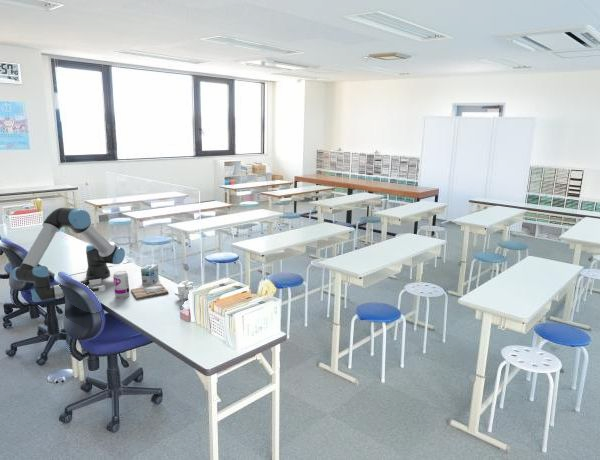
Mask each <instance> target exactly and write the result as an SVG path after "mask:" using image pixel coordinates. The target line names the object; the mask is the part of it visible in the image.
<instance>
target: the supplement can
mask: <svg viewBox="0 0 600 460" xmlns="http://www.w3.org/2000/svg"><path fill="white" fill-rule="evenodd" d="M112 277H113V286H114V297H115V298H117V299H124V298H128V297H129V296H130V294H131V292H130V285H129V274H128V272H127V271H125V270H120V271H119V270H118V271H116V272H114V273H113V276H112Z"/></svg>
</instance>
